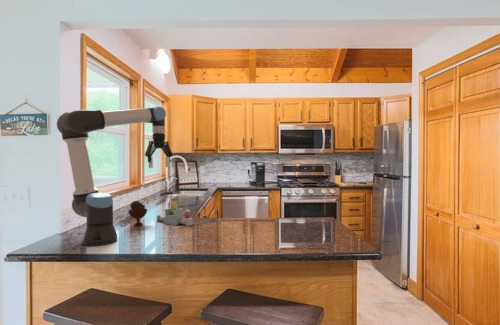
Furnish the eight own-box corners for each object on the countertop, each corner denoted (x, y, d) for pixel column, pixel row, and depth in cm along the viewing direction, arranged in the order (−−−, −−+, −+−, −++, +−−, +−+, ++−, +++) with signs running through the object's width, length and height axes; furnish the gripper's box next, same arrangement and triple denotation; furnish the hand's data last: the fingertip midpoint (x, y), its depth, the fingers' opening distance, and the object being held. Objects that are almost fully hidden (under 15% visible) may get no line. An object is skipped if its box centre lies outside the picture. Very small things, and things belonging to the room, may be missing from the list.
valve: (185, 226, 180) (185, 211, 179) (154, 222, 193) (154, 208, 192) (201, 221, 192) (201, 207, 192) (172, 218, 206) (171, 204, 205)
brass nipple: (174, 217, 187) (173, 198, 186) (169, 216, 189) (169, 197, 189) (178, 216, 190) (178, 197, 190) (174, 215, 192) (173, 196, 192)
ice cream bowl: (144, 227, 179) (143, 201, 179) (125, 227, 179) (124, 202, 179) (150, 223, 189) (150, 199, 189) (132, 223, 190) (132, 199, 189)
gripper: (146, 131, 176) (147, 168, 177) (177, 134, 198) (178, 166, 198) (138, 132, 180) (138, 168, 181) (169, 134, 202) (169, 166, 202)
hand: (159, 167), depth 189 cm, fingers open, 13 cm apart
